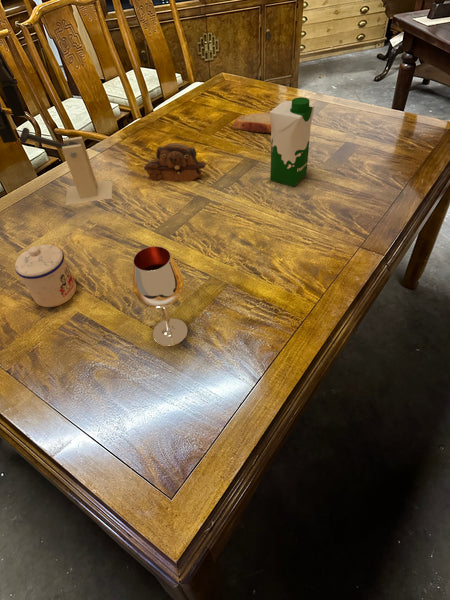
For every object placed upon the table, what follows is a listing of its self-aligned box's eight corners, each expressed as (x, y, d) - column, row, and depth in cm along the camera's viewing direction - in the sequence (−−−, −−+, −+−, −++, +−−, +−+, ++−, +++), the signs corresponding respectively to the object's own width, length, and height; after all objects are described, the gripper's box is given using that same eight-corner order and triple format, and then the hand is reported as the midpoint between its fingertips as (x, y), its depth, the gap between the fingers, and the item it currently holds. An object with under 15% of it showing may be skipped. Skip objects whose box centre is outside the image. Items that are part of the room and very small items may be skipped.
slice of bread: (229, 125, 134) (228, 113, 131) (276, 110, 139) (277, 99, 136) (258, 147, 123) (258, 134, 120) (309, 130, 128) (310, 118, 125)
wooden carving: (146, 187, 111) (138, 152, 104) (149, 178, 114) (141, 143, 107) (207, 185, 110) (204, 149, 103) (208, 176, 113) (205, 140, 106)
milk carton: (295, 189, 106) (301, 110, 91) (264, 180, 110) (265, 102, 95) (311, 173, 111) (318, 95, 96) (281, 165, 114) (284, 89, 100)
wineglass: (170, 309, 80) (152, 234, 67) (201, 328, 77) (189, 253, 64) (139, 336, 76) (113, 262, 63) (170, 358, 73) (151, 284, 59)
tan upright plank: (66, 209, 107) (44, 155, 96) (68, 190, 113) (48, 137, 102) (113, 201, 108) (96, 147, 97) (113, 183, 114) (97, 130, 103)
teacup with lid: (75, 305, 83) (54, 261, 74) (29, 312, 82) (2, 268, 74) (81, 265, 91) (63, 221, 83) (39, 271, 91) (16, 227, 82)
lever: (19, 143, 95) (19, 134, 94) (22, 134, 98) (23, 124, 97) (79, 160, 100) (80, 151, 99) (80, 150, 104) (82, 142, 102)
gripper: (-26, 34, 71) (24, 151, 87) (1, 1, 88) (38, 104, 104) (-71, 39, 71) (-13, 156, 86) (-36, 5, 88) (7, 108, 103)
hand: (15, 128), depth 95 cm, fingers open, 13 cm apart
